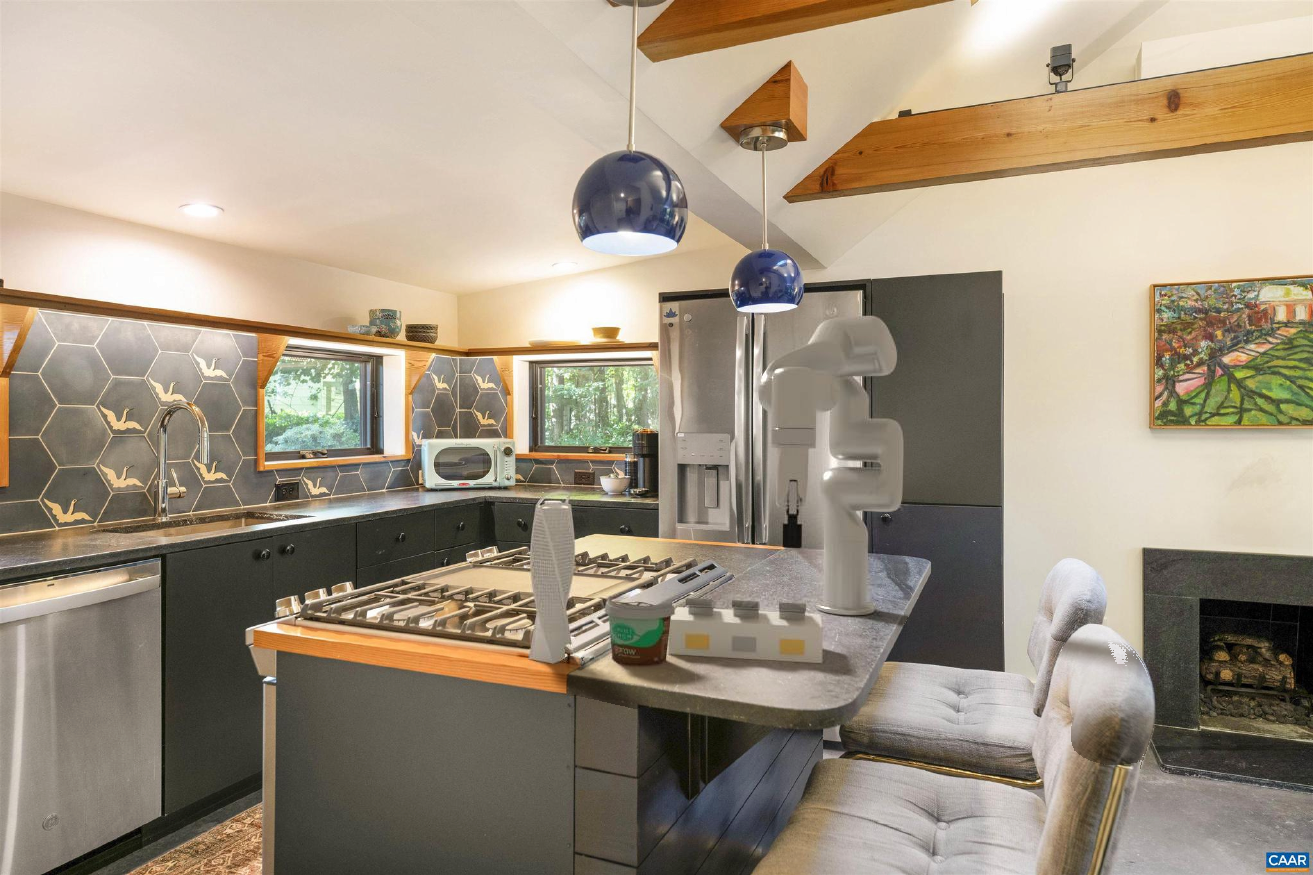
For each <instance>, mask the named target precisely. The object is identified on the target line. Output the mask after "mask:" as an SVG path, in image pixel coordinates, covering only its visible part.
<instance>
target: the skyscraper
mask: <svg viewBox="0 0 1313 875" xmlns="http://www.w3.org/2000/svg"><path fill="white" fill-rule="evenodd" d="M560 494H561V495H563V494H564V495H567V496H566V500H565V502H562V500H561V501H560V500H546V501H545V499H546V498H548V497H550V496H553V495H560ZM571 496H572V493H571V492H570V491H568V490H567V491H566V490H556V491H552V492H551V491H550V492H548V493H545V494H544V495H543V496H542V497H540V499H539V500H538V502H537V503H536V504H535V510H534V516H533V523H532V529H531V530H532V531H531V539H530V548H529V549H530V552H529V553H530V554H529V564H530V566H529V567H530V578H531V579H530V580H531V588H532V593H533V599H534V604H535V609H536V612H535V613H536V616H535V620H534V625H533V632H532V637H531V644H530V648H529V649H530V650H529V655H528V660H534V661H538V662H544V663H548V664H551V665H554V664H556V663H560V662H561V661H564V660H565V659H564V657H565V649H564V647H565V645H567V644H570V645H571V644H572V645H573V642H572V637H571V630H570V625H569V624H570V623H569V618H568V617H569V616H568V613H567V603H568V601H569V597H570V592H571V587H572V583H573V577H574V571H575V570H574V569H575V560H576V541H575V530H574V527H575V526H574V520H573V512H572V511H573V510H572V504H570V503H569V501H570V498H571ZM543 500H544V504H541V503H542V502H543ZM563 659H564V660H563Z"/></svg>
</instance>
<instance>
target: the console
mask: <svg viewBox="0 0 1313 875" xmlns="http://www.w3.org/2000/svg"><path fill="white" fill-rule="evenodd" d="M674 611H675V614H674V615H671V620H670V629H669V638H668V655H676V656H677V655H679V656H680V655H681V656H694V657H695V656H697V657H712V658H713V657H714V658H727V659H728V658H729V659H745V660H747V659H748V660H761V661H775V662H776V661H777V662H778V661H779V662H794V663H795V662H797V663H811V664H814V663H815V664H823V642H824V641H823V632H824V631H823V630H824V629H823V628H824V627H823V622H822V617H821V614H820V613H808V612H806V611H805V612H794V611H779V610H778V611H765V610H763V611H762V610H752V609H734V608H732V609H725V608H724V609H722V608H721V609H720V608H711V607H690V606H688V607H681V606H678V607H676V608H674Z"/></svg>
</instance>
